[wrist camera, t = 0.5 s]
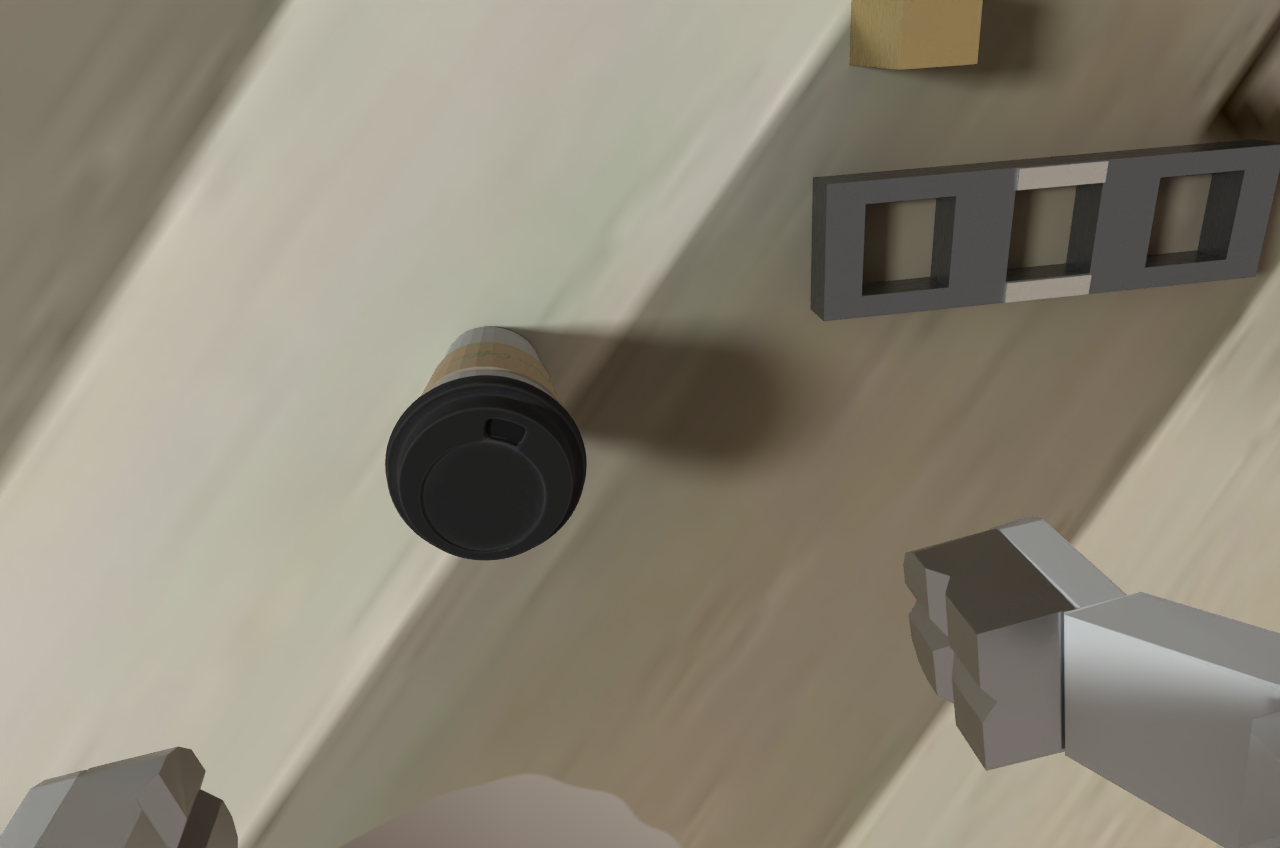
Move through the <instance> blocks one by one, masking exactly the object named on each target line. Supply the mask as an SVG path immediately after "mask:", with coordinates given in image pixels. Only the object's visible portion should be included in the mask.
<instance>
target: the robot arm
mask: <svg viewBox="0 0 1280 848" xmlns="http://www.w3.org/2000/svg"><path fill="white" fill-rule="evenodd" d="M903 566H904V576H905V584H906V585H907V587H908V588H909V590H910V591H911V592H912V594H913V595H914V597H915V598H916V599H917V602H916V603H915V605H914V607H913V608H912V610H911V612H910V613H909V622H910V629H911V636H912V641H913V644H914V647H915V651H916V654H917V657H918V661H919V663H920V665H921V668H922V670H923V672H924V674H925V676H926V678H927V680H928V682H929V683H930V685H931V686H932V688H933V690H934V691H935V693H936V695H937V696H939V697H941V698H943V699H945V700H947V701H949V702H952V703H954V708H955V719H956V726H957V727H958V729H959V730H960V732H961V733H962V735H963V736H964V738H965V739H966V741H967V742H968V744H969V745H970V747H971V748H972V750H973V751H974V753H975V754H976V756H977V758H978V759H979V761H980V762H981V764H982V765H983V767H984V768H985V770H986V771H987V770H991V769H995V768H999V767H1003V766H1007V765H1011V764H1015V763H1020V762H1024V761H1028V760H1032V759H1036V758H1040V757H1044V756H1048V755H1052V754H1056V753H1060V752H1064V751H1065V755H1066V756H1068V757H1069V758H1071V759H1073V760H1074V761H1076V762H1078V763H1080V764H1081V765H1083V766H1085V767H1087V768H1088V769H1090V770H1092V771H1093V772H1095V773H1097V774H1099V775H1100V776H1102V777H1104V778H1105V779H1107V780H1109V781H1111V782H1112V783H1114V784H1116V785H1118V786H1119V787H1121V788H1123V789H1124V790H1126V791H1128V792H1130V793H1131V794H1133V795H1135V796H1137V797H1138V798H1140V799H1142V800H1143V801H1145V802H1147V803H1149V804H1150V805H1152V806H1154V807H1156V808H1157V809H1159V810H1161V811H1162V812H1164V813H1166V814H1168V815H1169V816H1171V817H1173V818H1174V819H1176V820H1178V821H1180V822H1181V823H1183V824H1185V825H1187V826H1188V827H1190V828H1192V829H1193V830H1195V831H1197V832H1199V833H1200V834H1202V835H1204V836H1206V837H1207V838H1209V839H1211V840H1212V841H1214V842H1216V843H1218V844H1219V845H1221V846H1223V847H1225V848H1280V633H1277V632H1273V631H1270V630H1266V629H1263V628H1260V627H1256V626H1253V625H1250V624H1246V623H1243V622H1240V621H1236V620H1233V619H1230V618H1226V617H1223V616H1220V615H1216V614H1213V613H1210V612H1206V611H1203V610H1200V609H1196V608H1193V607H1190V606H1186V605H1183V604H1180V603H1176V602H1173V601H1170V600H1166V599H1163V598H1160V597H1156V596H1153V595H1149V594H1146V593H1143V592H1139V593H1135V594H1131V595H1126V594H1125V593H1124V592H1123V591H1122V590H1121V589H1120V588H1119V587H1118V586H1116V585H1115V584H1114V583H1113V582H1112V581H1111V580H1110V579H1109V578H1108V577H1106V576H1105V575H1104V574H1103V573H1102V572H1101V571H1100V570H1099V569H1098V568H1096V567H1095V566H1094V565H1093V564H1092V563H1091V562H1090V561H1089V560H1088V559H1086V558H1085V557H1084V556H1083V555H1082V554H1081V553H1080V552H1079V551H1078V550H1076V549H1075V548H1074V547H1073V546H1072V545H1071V544H1070V543H1069V542H1068V541H1066V540H1065V539H1064V538H1063V537H1062V536H1061V535H1060V534H1059V533H1058V532H1056V531H1055V530H1054V529H1053V528H1052V527H1051V526H1050V525H1049V524H1048V523H1046V522H1045V521H1044V520H1043V519H1042V518H1039V517H1035V516H1030V517H1026V518H1023V519H1020V520H1016V521H1013V522H1010V523H1006V524H1003V525H1000V526H996V527H993V528H990V530H988V531H984V532H981V533H977V534H973V535H969V536H966V537H962V538H958V539H955V540H951V541H947V542H944V543H940V544H936V545H933V546H929V547H925V548H922V549H918V550H914V551H911V552H907V553H905V558H904V564H903ZM205 772H206V771H205V769H204V768H203V766H202V765H201V763H200V762H199V760H198V759H197V757H196V756H195V754H194V753H193V751H192V750H191V749H186V748H182V747H175V748H171V749H166V750H162V751H158V752H154V753H150V754H146V755H142V756H138V757H134V758H130V759H126V760H121V761H117V762H113V763H109V764H105V765H101V766H97V767H93V768H90V769H88V770H83V771H78V772H74V773H70V774H67V775H63V776H59V777H55V778H51V779H47V780H44V781H43V782H41V783H39V784H38V785H36V786H35V787H33V788H31V789H30V790H29V792H28V793H27V795H26V797H25V798H24V800H23V801H22V803H21V804H20V806H19V808H18V809H17V811H16V812H15V814H14V816H13V817H12V819H11V820H10V822H9V824H8V825H7V827H6V828H5V830H4V832H3V833H2V835H1V836H0V848H238V836H237V833H236V829H235V826H234V822H233V818H232V816H231V814H230V812H229V810H228V809H227V807H226V805H225V803H224V802H223V800H221V799H219V798H217V797H215V796H213V795H211V794H209V793H207V792H205V791H203V790H201V789H200V788H201V785H202V782H203V778H204V775H205Z"/></svg>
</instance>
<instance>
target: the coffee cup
mask: <svg viewBox="0 0 1280 848" xmlns="http://www.w3.org/2000/svg"><path fill="white" fill-rule="evenodd" d="M385 467H386V477H387V483H388V488H389V492H390V496H391V498H392V501H393V503H394V505H395V507H396V509H397V511H398V513H399V514H400V516H401V517H402V519H403V520H404V521H405V523H406V524H407V525H408V526H409V527H410V528H411V529H412V530H413V531H414V532H415V533H416V534H417V535H419V536H420V537H421V538H422V539H424V540H425V541H427V542H428V543H430V544H432V545H434V546H435V547H437V548H439V549H441V550H443V551H445V552H447V553H449V554H452V555H455V556H458V557H462V558H467V559H473V560H498V559H504V558H509V557H512V556H516V555H519V554H521V553H524V552H526V551H528V550H530V549H532V548H534V547H536V546H538V545H539V544H541V543H543V542H544V541H546V540H547V539H549V538H550V537H551V536H553V535H554V534H555V533H556V532H557V531H558V530H559V529H560V528H561V527H562V526H563V525H564V524H565V523H566V522H567V520H568V519H569V518H570V516H571V515H572V513H573V512H574V510H575V508H576V506H577V504H578V502H579V499H580V497H581V494H582V490H583V486H584V482H585V476H586V452H585V447H584V443H583V440H582V437H581V434H580V432H579V430H578V427H577V426H576V424H575V422H574V421H573V419H572V418H571V416H570V415H569V413H568V412H567V411H566V410H565V409H564V408H563V406H562V404H561V401H560V399H559V397H558V394H557V392H556V390H555V387H554V385H553V383H552V381H551V378H550V376H549V374H548V372H547V370H546V369H545V368H544V367H543V365H542V364H541V362H540V360H539V357H538V355H537V353H536V351H535V349H534V348H533V347H532V345H531V344H530V343H529V342H528V341H527V340H526V339H524V338H523V337H522V336H520V335H518V334H516V333H515V332H513V331H510V330H507V329H504V328H498V327H480V328H475V329H472V330H470V331H467V332H465V333H464V334H463V335H461V336H460V337H458V339H457V340H456V341H455V342H454V343H453V344H452V346H451V348H450V349H449V351H448V353H447V355H446V357H445V358H444V359H443V360H442V361H441V363H440V364H439V365H438V366H437V368H436V370H435V372H434V373H433V375H432V377H431V379H430V381H429V383H428V384H427V386H426V388H425V390H424V392H423V394H422V396H421V397H419V398H418V399H417V400H416V401H415V402H413V403H412V404H411V405H410V406H409V407H408V409H407V410H406V411H405V412H404V413H403V415H402V416H401V417H400V419H399V420H398V422H397V423H396V425H395V427H394V429H393V431H392V434H391V436H390V439H389V442H388V446H387V451H386V461H385Z"/></svg>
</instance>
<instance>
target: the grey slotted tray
mask: <svg viewBox="0 0 1280 848" xmlns="http://www.w3.org/2000/svg"><path fill="white" fill-rule="evenodd" d="M1279 171H1280V143H1274V142H1267V141H1260V140H1242V141H1231V142H1219V143H1207V144H1196V145H1184V146H1173V147H1161V148H1150V149H1138V150H1126V151H1115V152H1103V153H1092V154H1080V155H1069V156H1057V157H1046V158H1034V159H1022V160H1011V161H999V162H988V163H976V164H965V165H953V166H941V167H930V168H918V169H907V170H895V171H884V172H872V173H860V174H849V175H837V176H826V177H814V178H813V213H812V268H811V310H812V311H813V312H814V313H815V314H817V315H818V316H819V317H820V318H821V319H822V320H823V321H830V320H839V319H849V318H859V317H868V316H878V315H888V314H897V313H907V312H917V311H927V310H936V309H946V308H956V307H965V306H975V305H985V304H994V303H1004V302H1005V303H1007V302H1017V301H1026V300H1036V299H1046V298H1055V297H1065V296H1075V295H1084V294H1091V293H1101V292H1111V291H1120V290H1130V289H1140V288H1149V287H1159V286H1169V285H1179V284H1188V283H1198V282H1208V281H1217V280H1227V279H1237V278H1246V277H1256V273H1257V268H1258V264H1259V259H1260V255H1261V251H1262V246H1263V242H1264V237H1265V233H1266V229H1267V224H1268V220H1269V215H1270V211H1271V207H1272V202H1273V198H1274V193H1275V189H1276V185H1277V180H1278V176H1279ZM1206 173H1213V176H1212V181H1211V186H1210V191H1209V196H1208V201H1207V206H1206V211H1205V216H1204V221H1203V226H1202V231H1201V236H1200V242H1199V247H1198V251H1188V252H1178V253H1168V254H1158V255H1148V256H1147V252H1148V247H1149V241H1150V235H1151V229H1152V224H1153V218H1154V212H1155V206H1156V201H1157V195H1158V189H1159V183H1160V178H1162V177H1173V176H1184V175H1195V174H1206ZM1073 185H1077V189H1076V197H1075V204H1074V211H1073V219H1072V226H1071V233H1070V240H1069V248H1068V255H1067V262H1066V264H1057V265H1047V266H1037V267H1027V268H1017V269H1007V265H1008V256H1009V247H1010V238H1011V229H1012V220H1013V210H1014V201H1015V192H1016V191H1017V190H1029V189H1040V188H1051V187H1062V186H1073ZM929 198H937V199H936V212H935V226H934V239H933V253H932V266H931V277H926V278H916V279H906V280H896V281H886V282H876V283H866V284H862V280H863V256H864V233H865V209H866V204H873V203H884V202H895V201H906V200H918V199H929Z"/></svg>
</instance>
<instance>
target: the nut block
mask: <svg viewBox="0 0 1280 848" xmlns="http://www.w3.org/2000/svg"><path fill="white" fill-rule="evenodd" d="M982 4H983V0H852V2H851V32H850V63H849V65H856V66H866V67H876V68H886V69H896V70H903V69H917V68H930V67H944V66H957V65H970V64H977V61H978V50H979V38H980V27H981V15H982Z"/></svg>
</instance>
